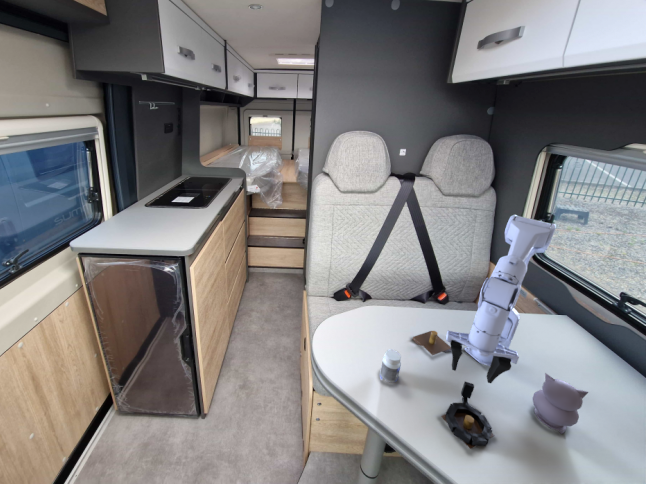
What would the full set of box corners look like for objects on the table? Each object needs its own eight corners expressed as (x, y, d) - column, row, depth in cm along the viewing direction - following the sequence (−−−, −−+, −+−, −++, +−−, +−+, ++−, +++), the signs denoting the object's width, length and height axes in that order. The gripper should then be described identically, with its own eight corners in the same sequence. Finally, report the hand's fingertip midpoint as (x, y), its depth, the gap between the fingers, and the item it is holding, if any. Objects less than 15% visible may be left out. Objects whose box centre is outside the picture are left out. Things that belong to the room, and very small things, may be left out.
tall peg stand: (430, 333, 101) (434, 321, 100) (451, 351, 95) (454, 338, 93) (412, 339, 98) (415, 327, 97) (431, 358, 92) (435, 345, 90)
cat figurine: (525, 420, 75) (542, 385, 70) (528, 398, 80) (543, 364, 76) (571, 445, 70) (592, 408, 65) (570, 420, 75) (590, 384, 71)
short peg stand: (463, 408, 77) (466, 398, 76) (493, 438, 70) (497, 428, 69) (439, 419, 74) (442, 409, 73) (468, 452, 67) (473, 442, 66)
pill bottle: (398, 387, 82) (403, 363, 79) (380, 383, 83) (384, 360, 80) (396, 372, 86) (401, 349, 83) (378, 369, 87) (383, 346, 84)
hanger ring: (494, 454, 66) (502, 437, 64) (446, 436, 69) (452, 419, 67) (484, 405, 77) (490, 389, 75) (443, 391, 80) (448, 375, 78)
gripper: (453, 326, 69) (439, 373, 74) (529, 349, 64) (509, 398, 69) (451, 310, 76) (438, 354, 80) (521, 330, 71) (502, 376, 75)
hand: (470, 373), depth 75 cm, fingers open, 7 cm apart
